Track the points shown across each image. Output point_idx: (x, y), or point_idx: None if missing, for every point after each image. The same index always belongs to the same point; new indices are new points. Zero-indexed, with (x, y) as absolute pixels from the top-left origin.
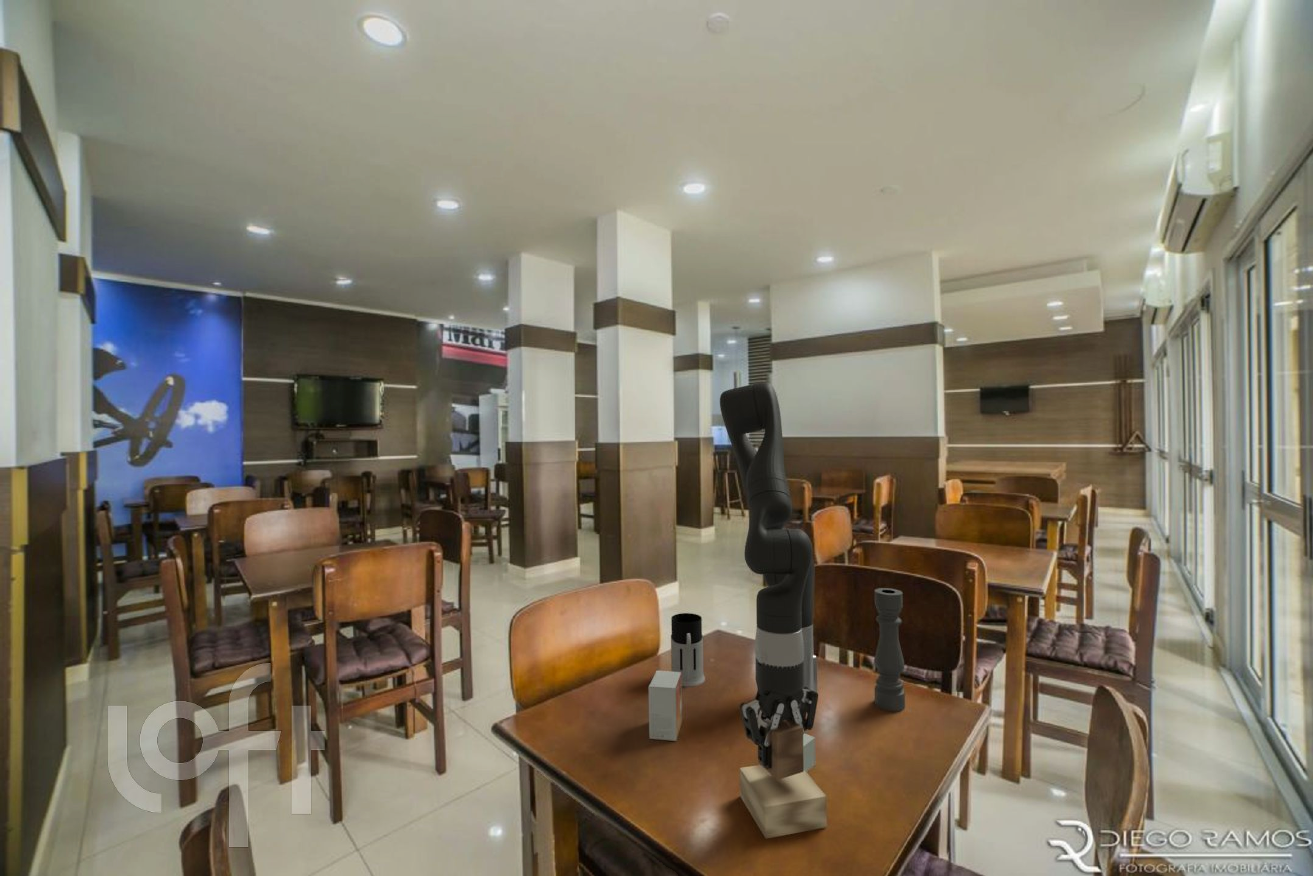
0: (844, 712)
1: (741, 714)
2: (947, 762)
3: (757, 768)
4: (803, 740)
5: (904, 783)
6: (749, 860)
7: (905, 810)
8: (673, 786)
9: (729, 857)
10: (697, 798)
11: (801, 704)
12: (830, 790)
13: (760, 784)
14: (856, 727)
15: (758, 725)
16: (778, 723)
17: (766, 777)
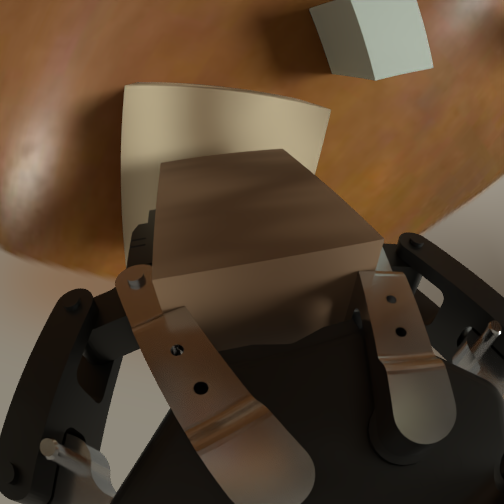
0: (499, 8)
1: (6, 420)
2: (496, 176)
3: (182, 104)
4: (406, 56)
5: (445, 184)
6: (88, 265)
7: (399, 231)
8: (7, 26)
9: (57, 252)
10: (36, 72)
11: (463, 304)
12: (352, 142)
13: (150, 185)
14: (493, 43)
15: (131, 325)
16: (264, 338)
17: (186, 157)
